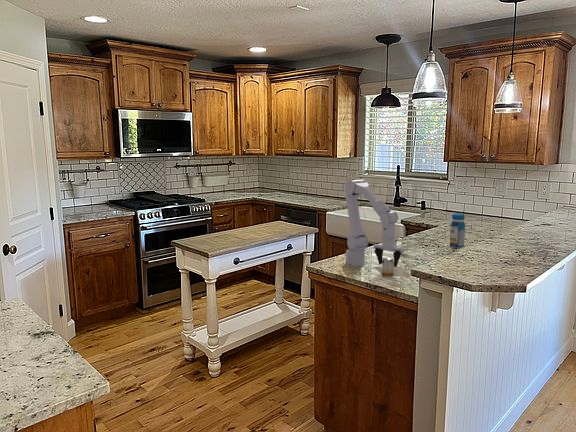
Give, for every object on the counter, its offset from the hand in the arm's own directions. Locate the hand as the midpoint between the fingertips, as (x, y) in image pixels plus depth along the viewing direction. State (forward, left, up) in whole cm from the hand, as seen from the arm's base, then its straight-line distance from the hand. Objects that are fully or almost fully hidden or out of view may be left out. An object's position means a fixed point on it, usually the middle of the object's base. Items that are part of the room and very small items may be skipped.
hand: (387, 265), depth 211 cm
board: (+3, +3, -5) cm, 7 cm away
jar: (0, 0, -4) cm, 4 cm away
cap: (0, 0, -2) cm, 2 cm away
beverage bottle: (+55, +51, -5) cm, 75 cm away
